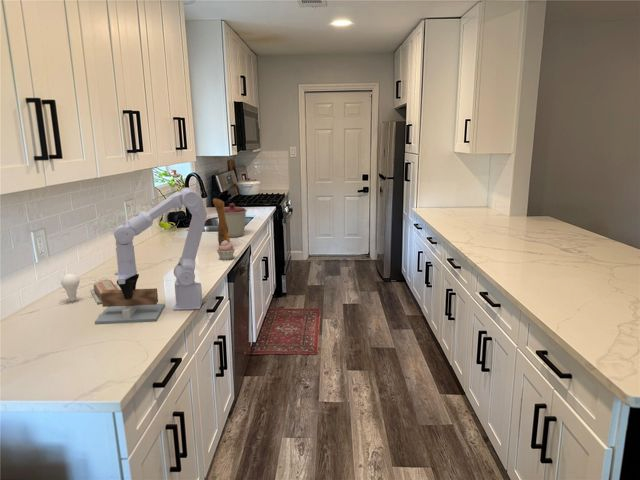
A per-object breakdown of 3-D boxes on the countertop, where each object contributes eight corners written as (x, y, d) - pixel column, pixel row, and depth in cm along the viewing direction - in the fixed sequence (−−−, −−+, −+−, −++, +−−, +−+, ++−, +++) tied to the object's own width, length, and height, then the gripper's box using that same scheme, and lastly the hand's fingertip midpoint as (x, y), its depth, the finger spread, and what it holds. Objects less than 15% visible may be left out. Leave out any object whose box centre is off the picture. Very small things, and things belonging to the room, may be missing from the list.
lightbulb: (78, 303, 165) (74, 276, 163) (61, 304, 164) (57, 277, 162) (84, 298, 171) (80, 271, 169) (67, 298, 170) (63, 272, 168)
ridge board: (164, 305, 164) (164, 295, 163) (156, 321, 150) (155, 310, 149) (108, 308, 161) (107, 298, 160) (95, 324, 148) (93, 313, 147)
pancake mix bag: (220, 251, 240) (217, 201, 234) (214, 244, 258) (212, 196, 251) (232, 250, 243) (230, 200, 236) (226, 243, 260) (224, 196, 254)
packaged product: (124, 288, 169) (96, 293, 164) (125, 300, 170) (97, 306, 165) (115, 276, 184) (88, 280, 178) (116, 287, 185) (90, 292, 179)
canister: (233, 240, 267) (232, 206, 262) (212, 236, 276) (211, 203, 271) (253, 235, 281) (252, 202, 276) (233, 231, 291) (231, 200, 286)
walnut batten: (158, 301, 158) (157, 288, 156) (156, 304, 155) (155, 291, 153) (105, 303, 155) (104, 290, 154) (102, 306, 152) (101, 293, 151)
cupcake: (237, 256, 231) (236, 238, 229) (232, 261, 222) (231, 242, 220) (220, 256, 232) (219, 237, 230) (214, 260, 223) (213, 241, 221)
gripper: (120, 254, 158) (124, 290, 161) (106, 266, 144) (111, 305, 147) (140, 254, 158) (144, 289, 162) (129, 265, 145) (133, 304, 148)
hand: (129, 296), depth 154 cm, fingers closed on walnut batten, 3 cm apart
